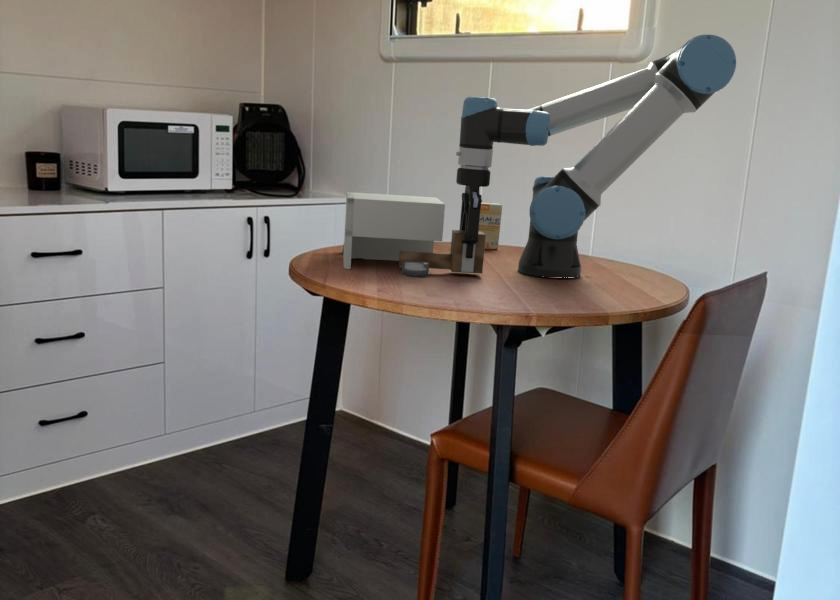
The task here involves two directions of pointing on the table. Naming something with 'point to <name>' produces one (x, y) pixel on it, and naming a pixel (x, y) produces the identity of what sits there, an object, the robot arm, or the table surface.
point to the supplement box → (490, 223)
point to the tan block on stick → (452, 259)
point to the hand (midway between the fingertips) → (465, 269)
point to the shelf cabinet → (390, 225)
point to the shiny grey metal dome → (415, 268)
